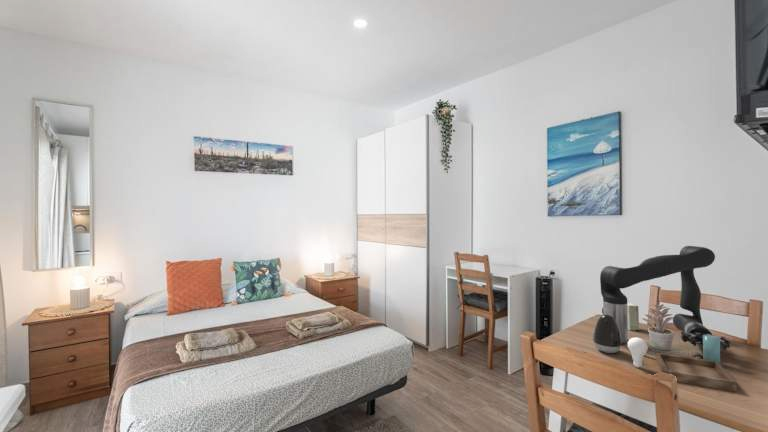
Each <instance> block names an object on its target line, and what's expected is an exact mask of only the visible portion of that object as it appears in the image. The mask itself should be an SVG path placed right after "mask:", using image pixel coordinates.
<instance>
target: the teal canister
mask: <svg viewBox="0 0 768 432" xmlns="http://www.w3.org/2000/svg"><path fill="white" fill-rule="evenodd" d="M712 335H713V334H712ZM712 335H703V345H702V360H709V361H716V362H718V363H719V364H720V365H721V347H720V337H719V336H716V335H713V336H712Z"/></svg>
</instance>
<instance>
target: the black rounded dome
mask: <svg viewBox="0 0 768 432" xmlns="http://www.w3.org/2000/svg"><path fill="white" fill-rule="evenodd" d="M592 341H593V343H594V346H595V348H597V349H598V351H600V352H602V353H606V354H615V353H618V352H619V351H620V349H621V347H622V346H623V343H622V340H621V335H620V331H619V328H618V325H617V323H616V321H615V320H614V318H613V317H612V316H610V315H603V314H601V315H600V316H599V317H598V319H597V321H596V324H595V326H594V331H593V337H592Z"/></svg>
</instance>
